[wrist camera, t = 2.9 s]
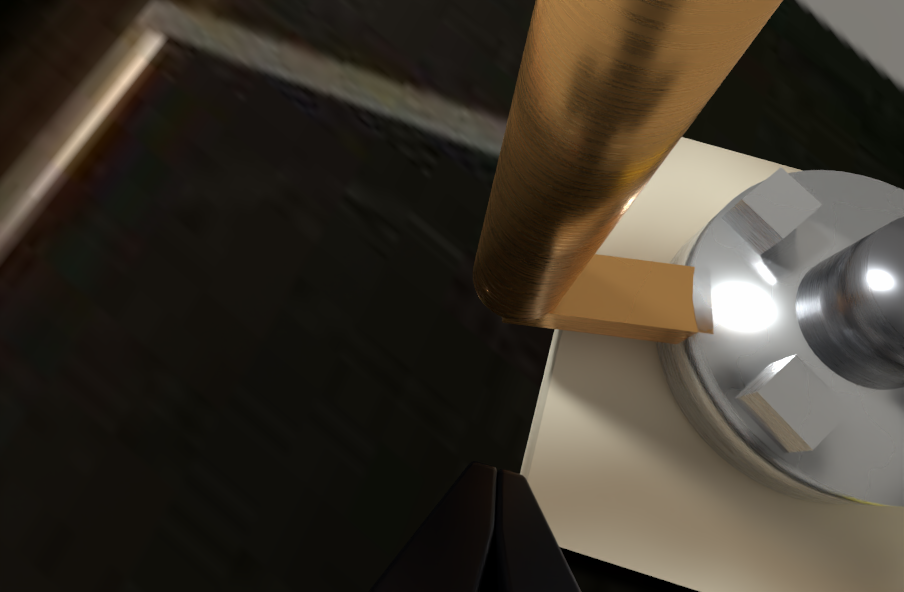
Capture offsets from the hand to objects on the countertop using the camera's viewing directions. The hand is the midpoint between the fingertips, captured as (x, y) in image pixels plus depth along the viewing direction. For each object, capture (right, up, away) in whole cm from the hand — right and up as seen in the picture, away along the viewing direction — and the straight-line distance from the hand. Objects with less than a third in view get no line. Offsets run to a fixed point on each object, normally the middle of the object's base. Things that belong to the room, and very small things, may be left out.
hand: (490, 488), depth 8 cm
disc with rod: (+7, +2, +8) cm, 11 cm away
